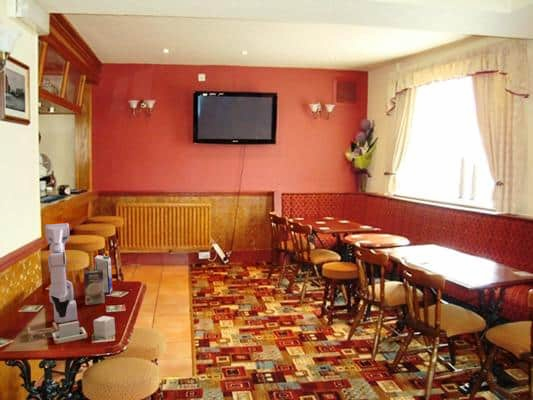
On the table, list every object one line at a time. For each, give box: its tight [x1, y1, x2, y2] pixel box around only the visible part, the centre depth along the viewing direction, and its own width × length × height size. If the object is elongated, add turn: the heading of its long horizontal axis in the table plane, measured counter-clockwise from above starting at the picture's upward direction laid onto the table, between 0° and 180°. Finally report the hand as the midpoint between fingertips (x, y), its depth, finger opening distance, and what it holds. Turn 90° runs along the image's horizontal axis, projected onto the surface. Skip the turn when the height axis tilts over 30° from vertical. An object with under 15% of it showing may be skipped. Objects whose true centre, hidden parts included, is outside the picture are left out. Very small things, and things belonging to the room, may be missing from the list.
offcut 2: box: [44, 330, 55, 339], centre depth 208 cm, size 4×2×2 cm, turn 120°
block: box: [58, 320, 81, 339], centre depth 205 cm, size 8×2×6 cm, turn 120°
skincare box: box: [92, 315, 116, 338], centre depth 208 cm, size 6×6×7 cm
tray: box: [52, 326, 88, 345], centre depth 206 cm, size 12×9×2 cm
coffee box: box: [83, 269, 105, 306], centre depth 253 cm, size 9×6×16 cm
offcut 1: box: [32, 332, 44, 341], centre depth 205 cm, size 4×2×2 cm, turn 120°
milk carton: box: [94, 254, 113, 295], centre depth 270 cm, size 7×7×20 cm
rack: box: [26, 321, 59, 342], centre depth 210 cm, size 11×10×4 cm
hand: (61, 314), depth 207 cm, fingers open, 7 cm apart
